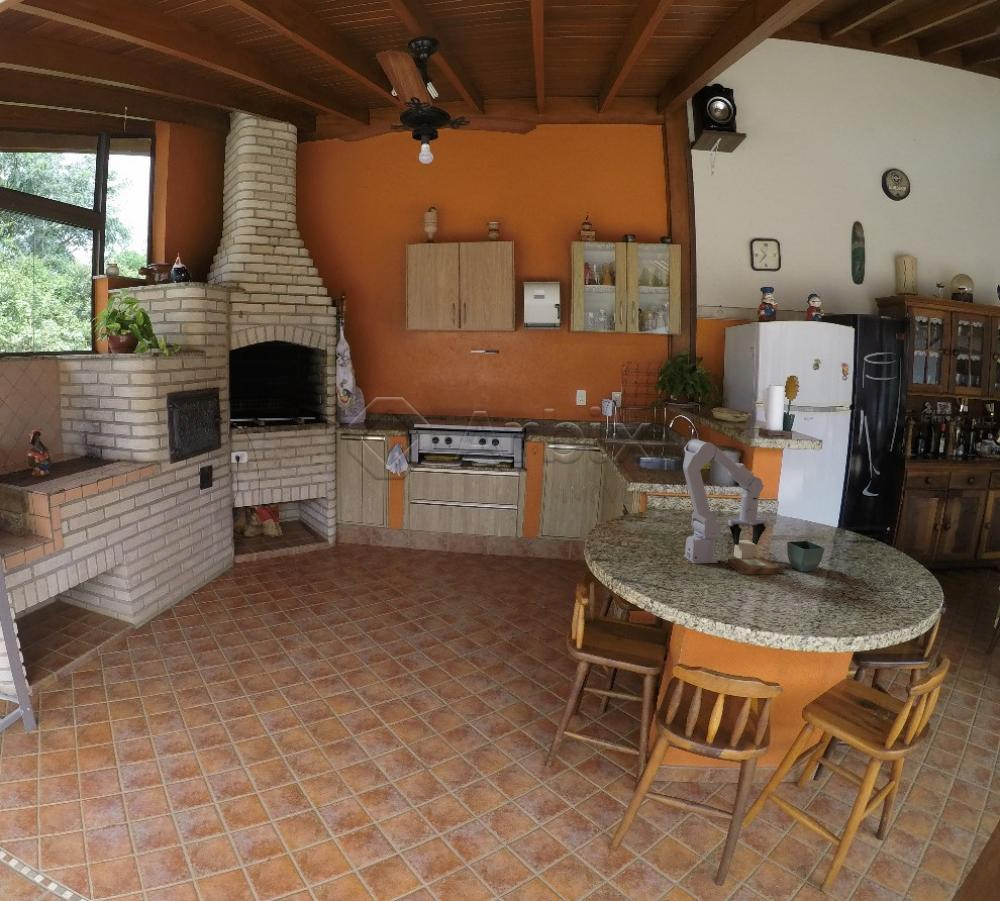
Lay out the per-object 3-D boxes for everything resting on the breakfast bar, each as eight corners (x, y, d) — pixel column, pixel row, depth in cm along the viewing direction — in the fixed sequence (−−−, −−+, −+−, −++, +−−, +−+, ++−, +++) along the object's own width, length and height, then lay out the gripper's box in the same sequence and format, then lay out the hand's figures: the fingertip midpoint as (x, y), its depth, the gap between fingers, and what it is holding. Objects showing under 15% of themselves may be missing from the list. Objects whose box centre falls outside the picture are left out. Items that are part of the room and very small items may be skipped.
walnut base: (742, 574, 215) (743, 568, 215) (727, 564, 225) (727, 558, 224) (779, 573, 217) (780, 567, 217) (762, 563, 227) (763, 557, 227)
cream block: (741, 560, 229) (742, 544, 228) (733, 555, 234) (735, 540, 233) (753, 560, 230) (755, 544, 229) (746, 555, 235) (747, 540, 234)
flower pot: (801, 574, 217) (804, 549, 215) (783, 565, 225) (786, 541, 224) (822, 572, 219) (825, 548, 218) (804, 564, 228) (807, 540, 226)
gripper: (736, 511, 224) (733, 547, 226) (773, 510, 226) (769, 546, 229) (726, 506, 231) (722, 541, 233) (762, 505, 233) (758, 540, 236)
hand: (745, 543), depth 231 cm, fingers open, 7 cm apart
